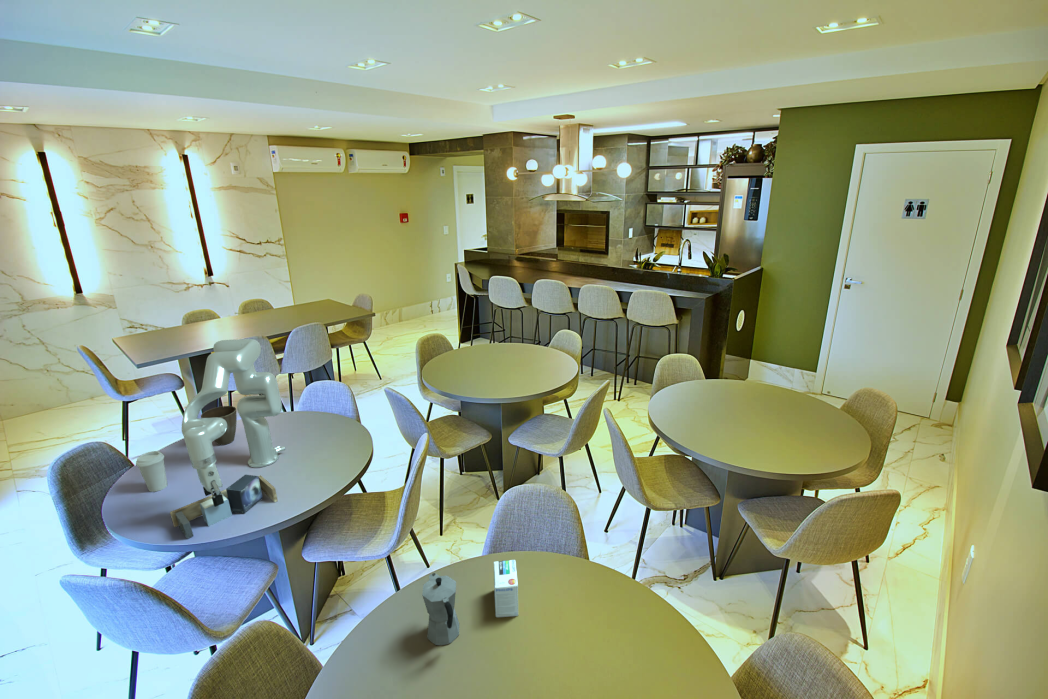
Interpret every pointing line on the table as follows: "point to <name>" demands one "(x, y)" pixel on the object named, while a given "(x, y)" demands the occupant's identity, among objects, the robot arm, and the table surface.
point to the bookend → (184, 524)
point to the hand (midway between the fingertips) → (214, 499)
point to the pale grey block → (215, 511)
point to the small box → (244, 494)
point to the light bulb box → (506, 588)
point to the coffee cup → (153, 470)
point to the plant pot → (229, 416)
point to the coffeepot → (441, 609)
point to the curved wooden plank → (194, 508)
